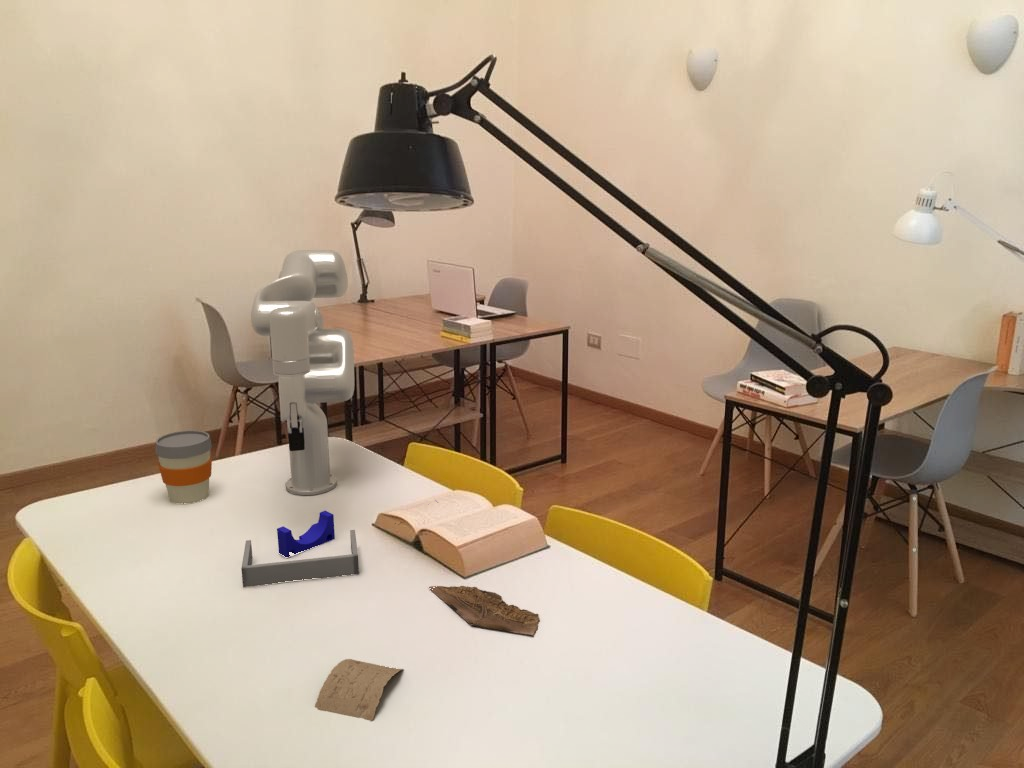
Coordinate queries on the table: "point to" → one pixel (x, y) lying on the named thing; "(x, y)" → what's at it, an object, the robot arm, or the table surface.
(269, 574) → the u-shaped bracket
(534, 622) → the wooden fragment
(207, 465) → the reusable coffee cup
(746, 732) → the table surface
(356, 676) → the brown curved piece
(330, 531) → the blue curved cradle
